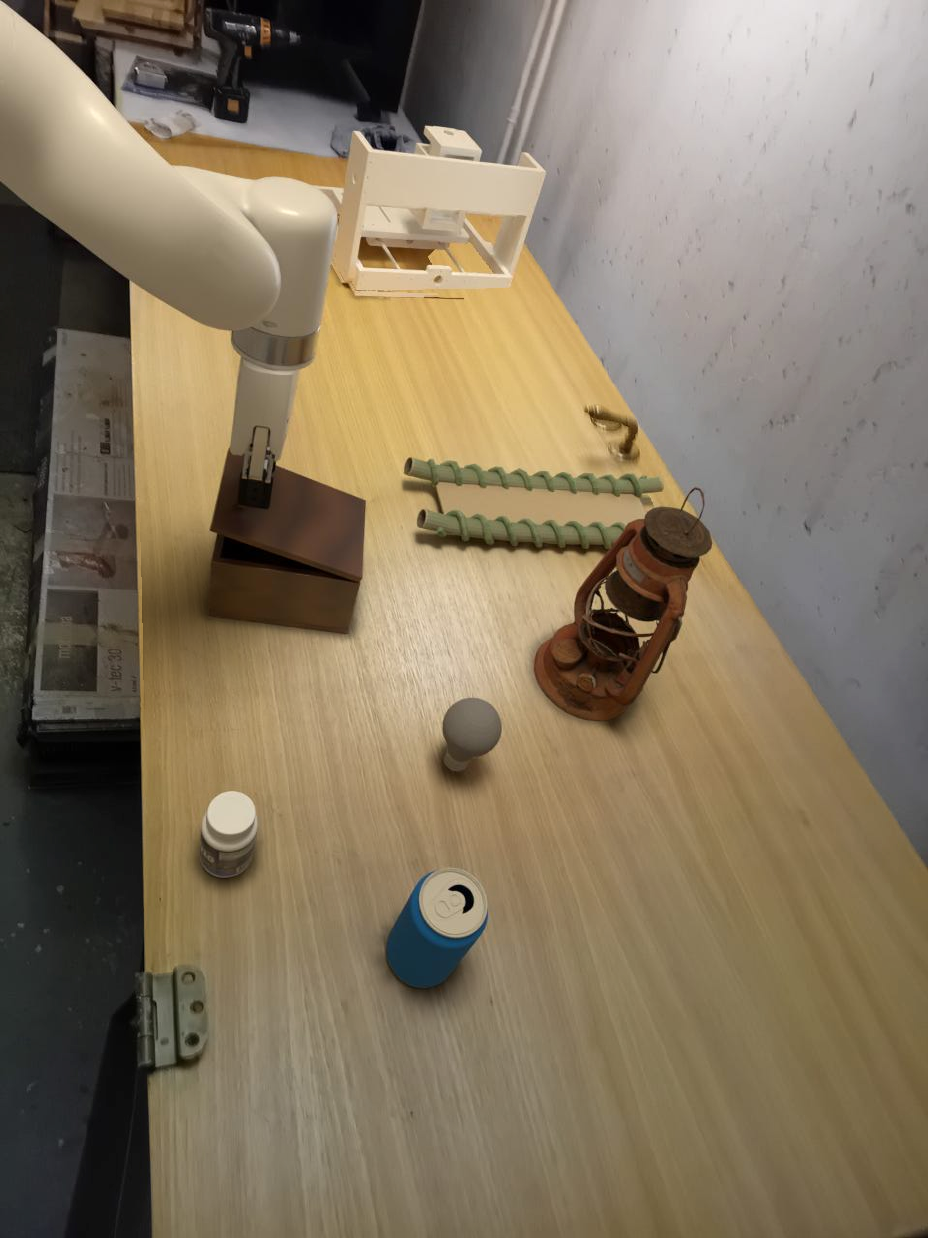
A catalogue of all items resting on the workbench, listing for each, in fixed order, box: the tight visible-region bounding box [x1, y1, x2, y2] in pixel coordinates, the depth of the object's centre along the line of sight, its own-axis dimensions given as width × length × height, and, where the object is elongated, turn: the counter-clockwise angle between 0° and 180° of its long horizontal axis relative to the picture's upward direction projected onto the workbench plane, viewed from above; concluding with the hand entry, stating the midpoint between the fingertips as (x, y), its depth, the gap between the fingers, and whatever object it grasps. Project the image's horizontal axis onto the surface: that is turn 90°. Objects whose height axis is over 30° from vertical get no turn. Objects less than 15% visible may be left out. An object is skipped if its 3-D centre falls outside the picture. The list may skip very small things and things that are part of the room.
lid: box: [209, 446, 367, 583], centre depth 87 cm, size 16×13×7 cm
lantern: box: [533, 486, 713, 722], centre depth 89 cm, size 17×13×30 cm
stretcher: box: [403, 456, 665, 550], centre depth 116 cm, size 41×14×5 cm, turn 102°
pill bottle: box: [199, 790, 259, 879], centre depth 72 cm, size 5×5×8 cm
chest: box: [207, 533, 361, 635], centre depth 94 cm, size 16×13×9 cm
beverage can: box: [385, 867, 489, 989], centre depth 69 cm, size 6×6×12 cm
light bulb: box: [441, 697, 503, 772], centre depth 84 cm, size 6×6×10 cm
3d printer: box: [311, 125, 547, 299], centre depth 151 cm, size 35×32×25 cm
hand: (256, 485), depth 85 cm, fingers closed on lid, 5 cm apart
